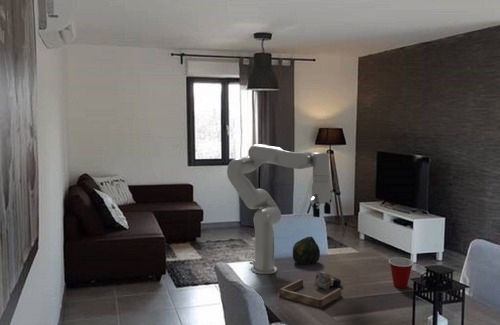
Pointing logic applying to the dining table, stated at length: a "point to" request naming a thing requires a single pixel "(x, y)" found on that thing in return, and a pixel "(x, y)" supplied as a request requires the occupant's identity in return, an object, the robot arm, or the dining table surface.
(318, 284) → the caster wheel
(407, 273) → the plastic cup
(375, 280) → the dining table surface
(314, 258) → the squash
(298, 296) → the walnut bay
